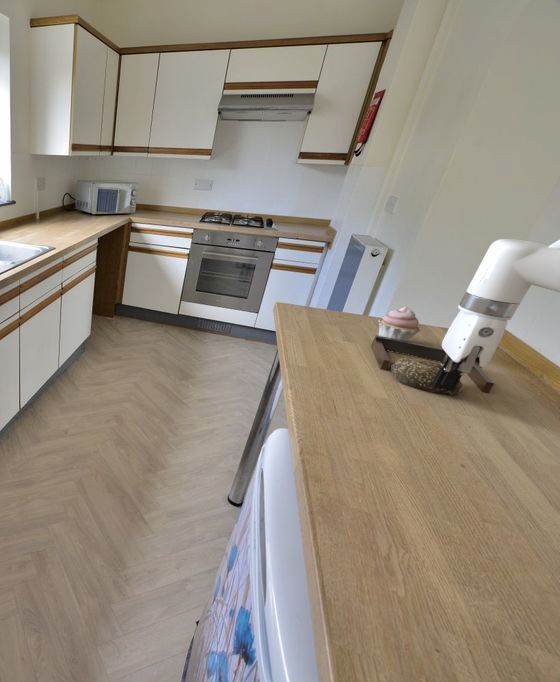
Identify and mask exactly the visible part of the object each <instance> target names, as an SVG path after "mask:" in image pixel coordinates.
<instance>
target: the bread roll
mask: <svg viewBox="0 0 560 682" xmlns="http://www.w3.org/2000/svg"><path fill="white" fill-rule="evenodd" d="M440 367H441V364H440V362H438V361H431V360H423V359H422V360H419V359H413V358H411V359H410V358H408V357H403V358H399V359H396V360H394V361H392V363H391V364H390V371H391V372H392V374H393V375H394V377H395V379H396V380H397V381H398V382H400V383H403V384H405V385H407V386H409V387H411V388H412V387H413V388H415V389H419V390H422V391H426V392H428V393H438V394H444V395H449V396H450V395H451V396H456V395H457V394H458V395H459V394H461V393H462V390H463V383H462V382H461V381H462V380H461V379H460V380H459V382H458V383H457V385H456V387H455V389H454V390H453V391H449V390H445V389H440V388H436V387H434V385H433V384H432V382H433V380H434V378H435V376H436V374H437V372H438V371H439V369H440ZM441 368H443V367H441Z"/></svg>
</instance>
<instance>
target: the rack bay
mask: <svg viewBox="0 0 560 682" xmlns="http://www.w3.org/2000/svg"><path fill="white" fill-rule="evenodd" d="M371 345H372V347H371V349H372V348H373V349H372V352H373V351H374V352H373V354H374V353H375V354H374V357H375V356H376V357H375V359H376V362H377V361H378V362H377V364H379V365H378V367H379V369H380V370H382V369H383V370H382V371H387V369H388V368H389V365H390V364H391V359H390V357H389V355H388V353H387V351H385V350H389V351H393V352H392V353H394V352H399V353H404V354H409V355H413V356H417V357H416V358H418V357H422V358H421V359H423V358H427V359H426V360H428V359H431V360H430V361H433V360H436V361H435V362H438V361H440V362H439V363H442V361H443V359H444V357H445V355H446V354H445V351H444V349H443V348H442V347H438V346H434V345H428V344H423V343H417V342H412V341H409V342H408V341H403V340H398V339H393V338H388V337H383V336H378V335H377V334H376V335H375V336H374V338H373V341H372V343H371ZM389 351H388V352H389ZM399 353H398V354H399ZM404 354H403V355H404ZM409 355H408V356H409ZM413 356H412V357H413ZM466 374H467V376H468V377H469V378H470V380H471V381H473V383H474V384H475V385H476V387H477V388H478V389H479V390H480V392H482V393H485V394H489V393H490V392H491V390H492V388H493V387H494V385H495V382H494V381H493V380H492V379H491V378H490V376H488V375H487V373H486V372H485V371H484V370H483V368H479V367H478V366H477V365H476V364H475V363H474V364H473V367H472V369H471V371H470V373H466Z"/></svg>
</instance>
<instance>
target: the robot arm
mask: <svg viewBox="0 0 560 682" xmlns="http://www.w3.org/2000/svg"><path fill="white" fill-rule="evenodd" d="M532 286H534V287H539V288H542V289H546V290H550V291H554V292H557V293H560V239H558V240H556V241H555V242H553V243H551V244H550V245H547V244H544V243H541V242H537V241H531V240H524V239H516V238H500V239H497V240H495V241H493V242H492V243H491V244H490V246H489V247H488V249H487V251H486V253H485V254H484V257H483V258H482V260H481V262H480V264H479V266H478V268H477V270H476V271H475V273H474V276H473V278H472V279H471V281H470V283H469V285H468V287H467V289H466V291H465V292H464V294H463V296H462V298H461V300H460V302H459V304H458V306H457V308H458V309H459V312H458V313H457V315H456V316H455V318H453V321H452V323H451V324H450V326H449V328H448V330H447V331H446V333H445V335H444V337H443V339H442V341H441V348H443V349H444V351H445V354H446V355H445V357H444V359H443V361H442V362H441V364H440V365H441V367H443V368H441V367H440V369H439V371H438V372H437V374H436V376H435V378H434V380H433V382H432V384H433V385H434V387H436V388H440V389H445V390H449V391H453V390H454V389H455V387H456V385H457V383H458V382H459V380H460V381H461V378H462V376H464V375H465V374H467V373H470V371H471V369H472V367H473V364H474V363H475V364H476V365H477V366H478V367H479V368H481V369H485V368H486V367H487V368H488V365H489V364H490V362H491V360H492V358H493V356H494V354H495V353H496V350H497V348H498V347H499V344H500V342H501V340H502V338H503V336H504V333H505V331H506V328H507V325H508V322H509V321H511V320H512V319H513V316H514V315H515V313H516V311H517V310H518V308H519V307H520V305H521V304H522V301H523V300H524V298H525V297H526V295H527V293H528V291H529V290H530V288H531V287H532Z"/></svg>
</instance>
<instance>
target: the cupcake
mask: <svg viewBox="0 0 560 682" xmlns="http://www.w3.org/2000/svg"><path fill="white" fill-rule="evenodd" d="M377 320H378V326H379V328H378V335H377V336H383V337H388V338H393V339H398V340H403V341H408V342H410V341H411V340H412V338H413V337H415V335H417V334H418V333H420V332H421V329H420V327H419V319H418V318H417V317H416V313H415V312H414V311H413V310H412V309H411V308H409V307H407V306H404V307H401V308H399V309H393V310H390V311H388V312H387V313H386V314H385V315H384V316H382V318H381V319H379V318H378V319H377Z"/></svg>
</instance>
